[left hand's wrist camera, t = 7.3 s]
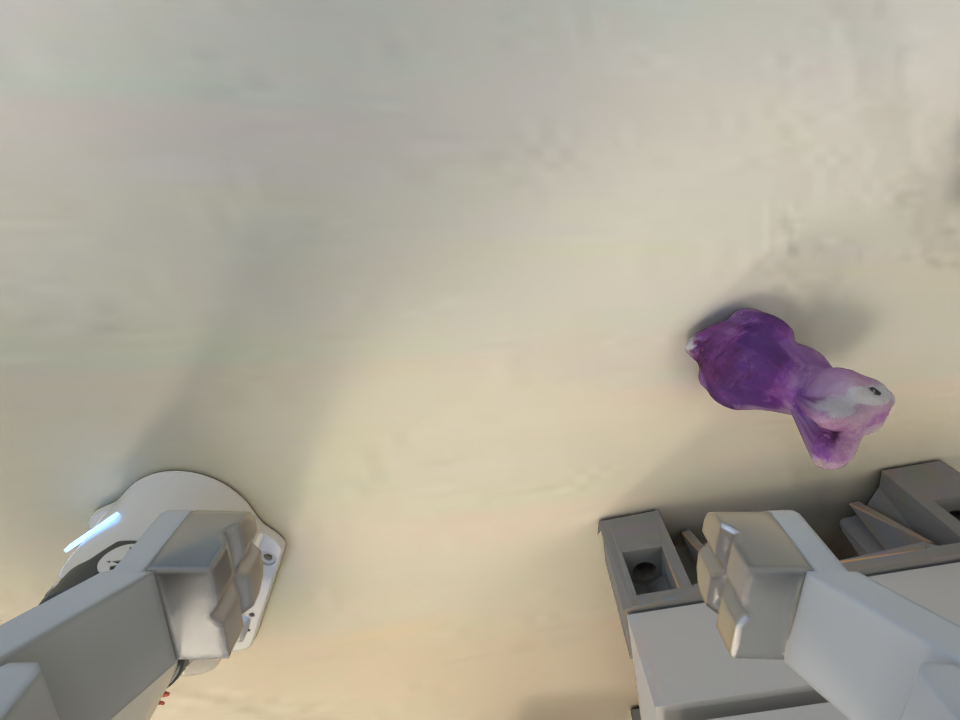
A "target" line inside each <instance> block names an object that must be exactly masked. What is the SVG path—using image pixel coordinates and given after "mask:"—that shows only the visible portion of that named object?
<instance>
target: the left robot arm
mask: <svg viewBox="0 0 960 720" xmlns="http://www.w3.org/2000/svg"><path fill="white" fill-rule="evenodd" d="M88 524H89V528H90V531H88V532H87V533H85V534H84V535H83V536H81V537H80V538H78V539H77V540H75V541H74V542H72V543H71V544H69V545H68V546H67V547H66V549H65V550H64V551H65V552H68V551H69V550H71V549H72V548H74V547H75V546H77V545H78V544H79V543H81V544H80V545H79V546H78V547H77V549H76V550H75V551H74V552H73V554H72V555H71V556H70V558H69V559H68V560H67V561H66V563H65V564H64V565H63V567H62V568H61V570H60V572H59V577H60V578H61V580H60V581H58V582H57V583H56V584H55V585H54V586H53V587H52V588H51V589H50V590H49V591H48V592H47V594H46V595H45V597H44V598H43V599H42V601H41V603H40V604H39V605H38V606H36V607H34V608H33V609H31V610H29V611H27V612H25V613H23V614H21V615H19V616H17V617H16V618H14V619H12V620H10V621H8V622H6V623H4V624H2V625H0V720H150V719H151V717H152V715H153V713H154V711H155V709H156V707H157V705H164V704H165V702H163V701H160V700H161V698H162V697H166V696H169V695H170V693H169V692H166V691H165V690H166V689H167V688H168V687H169V686H171V685H172V684H173V683H174V682H175V681H176V680H177V679H178V678H179V676H193V675H199V674H203V673H206V672H208V671H210V670H212V669H214V668H215V667H216V666H217V665H218V663H219V662H220V660H221V658H229V656H230V654H231V652H235V651H239V650H243V649H246V648H248V647H250V646H251V645H252V643H253V641H254V640H255V638H256V635H257V632H258V630H259V627H260V623H261V620H262V617H263V614H264V611H265V608H266V605H267V602H268V599H269V596H270V593H271V590H272V587H273V584H274V581H275V578H276V575H277V571H278V568H279V565H280V562H281V559H282V556H283V553H284V550H285V546H286V543H285V541H284V539H283V538H282V537H281V536H280V535H279V534H278V533H277V532H275V531H274V530H272V529H271V528H269V527H268V526H266V525H265V524H264V523H263V522H262V521H261V520H260V519H259V518H258V516H257V515H256V513H255V512H254V511H253V509H252V508H251V506H250V505H249V504H248V503H247V502H246V501H245V500H244V499H243V498H242V497H241V496H240V495H239V494H238V493H237V492H236V491H234V490H233V489H231V488H230V487H228V486H227V485H225V484H223V483H222V482H220V481H218V480H215V479H213V478H211V477H208V476H205V475H202V474H198V473H193V472H187V471H165V472H159V473H155V474H151V475H148V476H146V477H144V478H142V479H140V480H138V481H137V482H135V483H134V484H133V485H131V486H130V487H129V488H128V489H127V490H126V491H125V493H124V494H123V495H122V496H121V497H120V498H119V499H118V500H117V501H116V502H114V503H111V504H109V505H106V506H104V507H102V508H100V509H98V510H96V511H95V512H94V514H93V515H92V516H91V517H90V519H89V521H88ZM702 532H703V534H704V535H705V537H706V539H707V541H708V542H707V543H706V544H705V545H704V546H703V547H702V548H701V549H700V550H699V552H698V559H697V579H698V585H699V588H700V592H701V595H702V597H703V600H704V602H705V604H706V606H707V607H709V608H710V609H712V610H713V611H714V612H716V613H717V614H718V618H717V623H716V627H717V629H718V631H719V633H720V635H721V637H722V640H723V642H724V644H725V646H726V648H727V650H728V652H729V654H730V656H731V658H740V659H776V660H784V661H783V662H784V663H785V664H786V665H787V666H788V667H789V668H791V669H792V670H793V671H794V672H795V673H796V674H797V675H799V676H800V677H801V678H802V679H803V680H804V681H805V682H807V683H808V684H809V685H810V686H811V687H812V688H814V689H815V690H816V691H817V692H818V693H819V694H820V695H822V696H823V697H824V698H825V699H826V700H827V701H828V702H830V703H831V704H832V705H833V706H834V707H835V708H837V709H838V710H839V711H840V712H841V713H842V714H843V715H845V716H846V717H847V718H848V719H849V720H960V626H959V625H957V624H955V623H954V622H952V621H950V620H948V619H946V618H944V617H942V616H940V615H939V614H937V613H935V612H933V611H931V610H929V609H927V608H925V607H923V606H922V605H920V604H918V603H916V602H914V601H912V600H910V599H908V598H906V597H905V596H903V595H901V594H899V593H897V592H895V591H893V590H891V589H890V588H888V587H886V586H884V585H882V584H880V583H878V582H876V581H874V580H873V579H871V578H869V577H867V576H865V575H863V574H861V573H859V572H857V571H848V570H847V569H846V568H845V567H844V566H843V565H842V563H841V562H840V561H839V560H838V559H837V557H836V556H835V555H834V554H833V553H832V552H831V550H830V549H829V548H828V547H827V546H826V544H825V543H824V542H823V541H822V540H821V538H820V537H819V536H818V535H817V534H816V533H815V531H814V530H813V529H812V528H811V527H810V525H809V524H808V523H807V522H806V521H805V519H804V518H803V517H802V516H801V515H800V514H799V513H798V512H796V511H794V510H767V511H757V512H708V513H707V515H706V517H705V519H704V523H703V528H702ZM268 554H270V555H272V556H270V555H268Z"/></svg>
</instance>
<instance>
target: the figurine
mask: <svg viewBox="0 0 960 720" xmlns="http://www.w3.org/2000/svg"><path fill="white" fill-rule="evenodd" d="M685 350H686V352H687V353H688V354H689V355H690V356H691V357H692V358H693V359H694V360H695V361H696V362H697V363H698V365H699V367H700V372H699V377H698V378H699V381H700V384H701V385H702V386H703V387H704V388H706V390H707V391H708V392H709V394H710V396H711V397H712V398H713V399H714V400H715V401H717V402H718V403H720V404H721V405H723V406H725V407H728V408H731V409H735V410H752V409H756V410H768V411H774V412H779V413H785V414H790V415H792V416H793V418H794V420H795V422H796V425H797V427H798V429H799V432H800V434H801V436H802V438H803V441H804V443H805V445H806V447H807V450H808V452H809V454H810V457H811V459H812V461H813V463H814V465H815V466H817V467H819V468H823V469H837V468H840V467H843V466H845V465H846V464H847V463H848V462H850V461H851V459H852V458H853V457H854V455H855V453H856V451H857V449H858V446H859V442H860V441H861V439H862V437H863V436H864V435H868V434H871V433H873V432H875V431H877V430H878V429H879V428H880V427H881V426H882V425H883V423H884V421H885V419H886V417H887V416H888V414H889V412H890V410H891V408H892V406H893V405H894V403H895V398H894V395H893V394H892V392H890V391H889V390H888V389H887V388H886V387H885V385H883V384H882V383H881V382H880V381H877V380H875V379H872V378H869V377H866V376H864V375H861V374H859V373H857V372H855V371H852V370H849V369H845V368H832V367H831V365H830V364H829V362H828V361H827V360H826V359H825V357H824V356H823V355H822V354H820V353H819V352H818V351H816V350H814V349H812V348H810V347H807V346H804V345H801V344H798V343H797V342H796V341H795V340H794V332H793V330H792V329H791V327H790V326H789V325H788V324H786V323H785V322H784V321H783V320H781V319H779V318H777V317H775V316H773V315H770V314H768V313H764V312H761V311H759V310H755V309H751V308H745V309H740V310H738V311H737V312H735V313H733V314H732V315H731V316H730V317H729V318H728V319H726V320H725V321H723V322H719V323H716V324H714V325H712V326H710V327H708V328H706V329H704V330H702V331H700V332H698V333H696V334H695V335H694V336H693V337H692V338H691V339H690V340H689V341H688V343H687V344H686V347H685Z"/></svg>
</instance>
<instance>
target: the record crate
mask: <svg viewBox="0 0 960 720" xmlns="http://www.w3.org/2000/svg"><path fill="white" fill-rule="evenodd" d="M849 505H850V507H851V508H852V509H853V510H854V512H855V513H856V514H857V515H855V516H850V517H846V518H842V519H841V521H840V528H841V530H842V531H843V533H844V534H845V536H846V537H847V539H848V540H849V542H850V543H851V545H852V546H853V547H854V549H855V550H856V552H857V553H858V555H859V556H857V557H853V558H848V559H844V560H839V561H840V562H841V563H842V565H843V566H844V567H845V568H846V569H847V570H848V571H857V572H859V573H861V574H863V575H865V576H867V577H869V578H871V579H873V580H874V581H876V582H878V583H880V584H882V585H884V586H886V587H888V588H890V589H891V590H893V591H895V592H897V593H899V594H901V595H903V596H905V597H906V598H908V599H910V600H912V601H914V602H916V603H918V604H920V605H922V606H923V607H925V608H927V609H929V610H931V611H933V612H935V613H937V614H939V615H940V616H942V617H944V618H946V619H948V620H950V621H952V622H954V623H955V624H957V625H959V626H960V473H959V472H958V471H956V470H955V469H953V468H952V467H950V466H949V465H947V464H946V463H944V462H942V461H935V462H929V463H923V464H917V465H912V466H906V467H900V468H894V469H888V470H883V471H882V474H881V479H880V484H879V488H878V489H877V491H876V492H875V494H874V495H873V497H872V498H871V500H870V501H869V503H868V504H867V505H864V504H863V503H861V502H859V501H856V502H852V503H849ZM600 531H601V532H602V535H603V543H604V551H605V560H606V565H607V569H608V573H609V577H610V580H611V584H612V588H613V592H614V596H615V600H616V604H617V608H618V612H619V615H620V619H621V623H622V627H623V631H624V635H625V639H626V643H627V647H628V650H629V654H630V658H631V659H633V663H634V671H635V678H636V685H637V693H638V700H639V708H640V709H632V710H631V715H632V720H849V719H848V718H847V717H846V716H845V715H843V714H842V713H841V712H840V711H839V710H838V709H837V708H835V707H834V706H833V705H832V704H831V703H830V702H828V701H827V700H826V699H825V698H824V697H823V696H822V695H820V694H819V693H818V692H817V691H816V690H815V689H814V688H812V687H811V686H810V685H809V684H808V683H807V682H805V681H804V680H803V679H802V678H801V677H800V676H799V675H797V674H796V673H795V672H794V671H793V670H792V669H791V668H789V667H788V666H787V665H786V664H785V663H784V662H783V661H784V660H776V659H740V658H731V656H730V654H729V652H728V650H727V648H726V646H725V644H724V642H723V640H722V637H721V635H720V633H719V631H718V629H717V627H716V623H717V618H718V614H717V613H716V612H714V611H713V610H712V609H710V608H709V607H707V606H706V604H705V602H704V600H703V597H702V595H701V592H700V588H699V585H698V579H697V559H698V552H699V550H700V549H701V548H702V547H703V546H704V545H705V544H703V543H701V542H700V541H699V540H698V538H697V537H696V536H695V535H694V534H693V532H692V531H691V530H686V531H682V532H681V534H682V536H683V538H684V541H685V543H686V545H684V546H681V547H677V548H675V547H674V544H673V542H672V540H671V538H670V535H669V533H668V531H667V529H666V526H665V524H664V522H663V520H662V517H661V515H660V513H659V511H658V510H656V511H652V512H646V513H641V514H636V515H631V516H626V517H620V518H615V519H610V520H601V521H599V526H598V534H599V532H600Z"/></svg>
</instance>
